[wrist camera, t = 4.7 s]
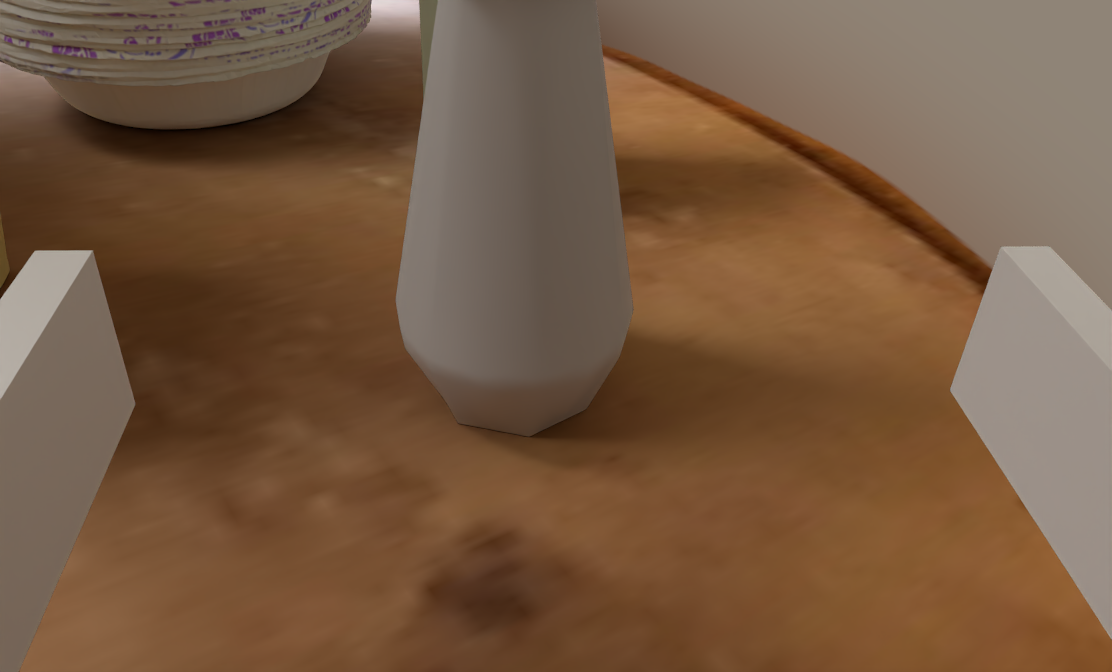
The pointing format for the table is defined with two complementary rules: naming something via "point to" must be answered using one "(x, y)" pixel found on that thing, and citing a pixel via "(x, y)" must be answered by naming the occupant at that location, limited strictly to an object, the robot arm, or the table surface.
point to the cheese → (3, 257)
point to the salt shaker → (515, 216)
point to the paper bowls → (177, 54)
